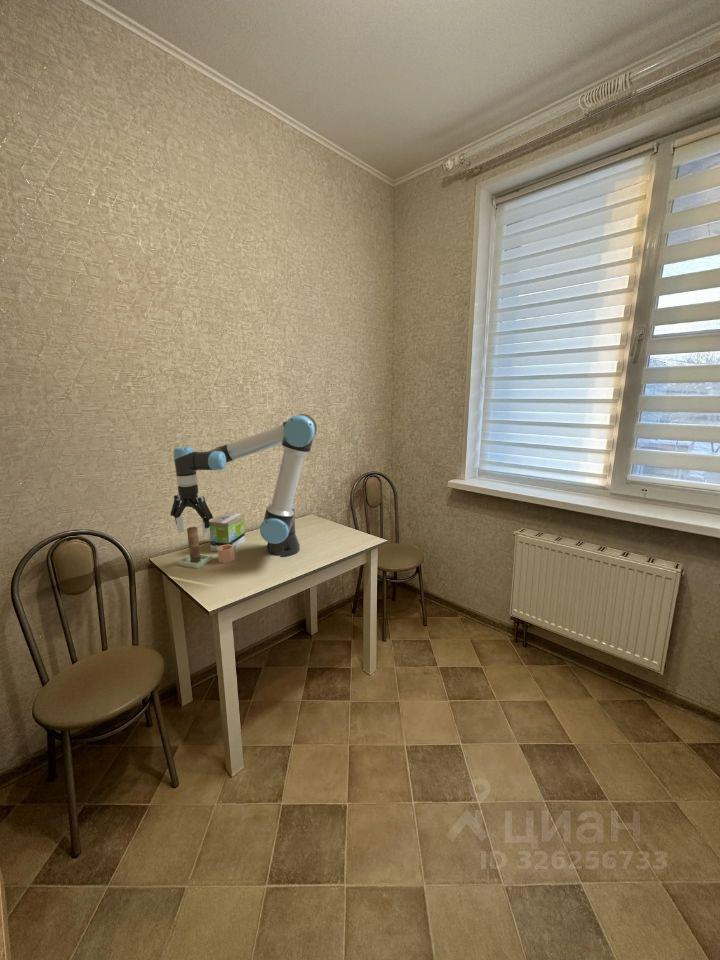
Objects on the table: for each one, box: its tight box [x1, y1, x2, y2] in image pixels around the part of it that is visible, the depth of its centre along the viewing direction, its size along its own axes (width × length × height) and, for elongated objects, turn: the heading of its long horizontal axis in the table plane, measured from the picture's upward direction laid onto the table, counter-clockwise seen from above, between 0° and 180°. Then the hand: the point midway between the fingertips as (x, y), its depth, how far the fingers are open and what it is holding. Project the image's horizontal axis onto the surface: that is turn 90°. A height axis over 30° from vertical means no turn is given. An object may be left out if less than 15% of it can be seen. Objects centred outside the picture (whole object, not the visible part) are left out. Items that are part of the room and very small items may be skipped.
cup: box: [216, 544, 236, 564], centre depth 166 cm, size 7×7×6 cm
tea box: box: [209, 512, 246, 552], centre depth 181 cm, size 15×10×15 cm, turn 168°
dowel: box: [186, 526, 201, 563], centre depth 162 cm, size 4×4×15 cm
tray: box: [177, 553, 213, 569], centre depth 164 cm, size 10×9×2 cm
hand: (193, 533), depth 161 cm, fingers open, 13 cm apart
